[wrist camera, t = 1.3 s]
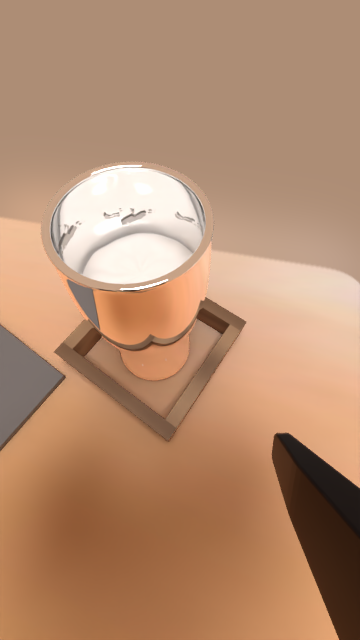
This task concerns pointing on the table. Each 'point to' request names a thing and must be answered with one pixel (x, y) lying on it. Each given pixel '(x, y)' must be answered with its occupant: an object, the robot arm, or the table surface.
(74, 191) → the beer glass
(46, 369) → the rubber mat
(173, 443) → the table surface
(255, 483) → the table surface
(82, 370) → the brown square tray
